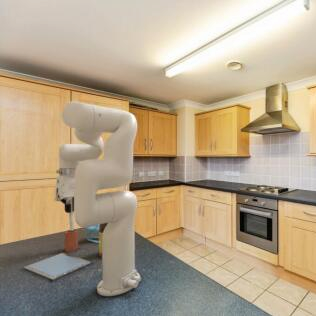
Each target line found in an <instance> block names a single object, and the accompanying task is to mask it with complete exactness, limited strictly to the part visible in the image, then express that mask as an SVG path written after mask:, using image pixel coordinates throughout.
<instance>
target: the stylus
mask: <svg viewBox="0 0 316 316" xmlns="http://www.w3.org/2000/svg"><path fill="white" fill-rule="evenodd" d="M69 202H70V204H71V213H68V216H69V218H68V219H69V230H70V231H71V232H74V229H75V218H74V212H73V204H72V198H71V199H69Z"/></svg>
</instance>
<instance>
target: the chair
mask: <svg viewBox="0 0 316 316" xmlns="http://www.w3.org/2000/svg"><path fill="white" fill-rule="evenodd" d="M99 226H100V224H99V225H95V226H91V227H85V231H86V233H87V235H86V236H87V237H86V240H87V241H88V242H92V243H95V244H99V240H95V239H99V236H96V235H97V233H98V232H99ZM92 232H93V233H92ZM91 233H92V235H91Z"/></svg>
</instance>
